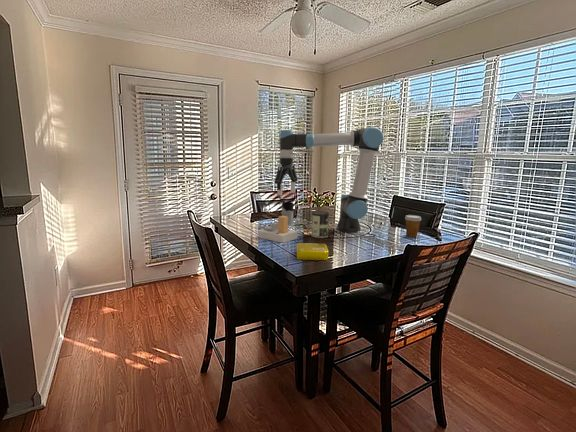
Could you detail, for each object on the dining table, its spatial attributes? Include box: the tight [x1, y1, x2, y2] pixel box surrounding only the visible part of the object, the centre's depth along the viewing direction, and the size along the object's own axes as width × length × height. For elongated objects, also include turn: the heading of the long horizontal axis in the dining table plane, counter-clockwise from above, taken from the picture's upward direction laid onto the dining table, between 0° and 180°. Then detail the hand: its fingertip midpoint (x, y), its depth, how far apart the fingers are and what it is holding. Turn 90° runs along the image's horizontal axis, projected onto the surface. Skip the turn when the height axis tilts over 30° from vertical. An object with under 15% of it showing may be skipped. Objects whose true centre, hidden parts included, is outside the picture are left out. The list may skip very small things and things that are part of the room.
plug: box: [277, 215, 289, 234], centre depth 196 cm, size 4×4×13 cm
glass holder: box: [281, 201, 302, 227], centre depth 233 cm, size 9×14×15 cm, turn 107°
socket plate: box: [258, 228, 299, 244], centre depth 199 cm, size 18×14×4 cm
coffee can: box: [310, 210, 330, 239], centre depth 204 cm, size 10×10×14 cm
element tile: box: [296, 242, 329, 261], centre depth 168 cm, size 15×15×5 cm
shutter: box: [263, 222, 278, 231], centre depth 201 cm, size 7×7×4 cm
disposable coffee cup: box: [404, 214, 422, 238], centre depth 209 cm, size 10×10×12 cm
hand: (286, 194), depth 202 cm, fingers open, 13 cm apart
